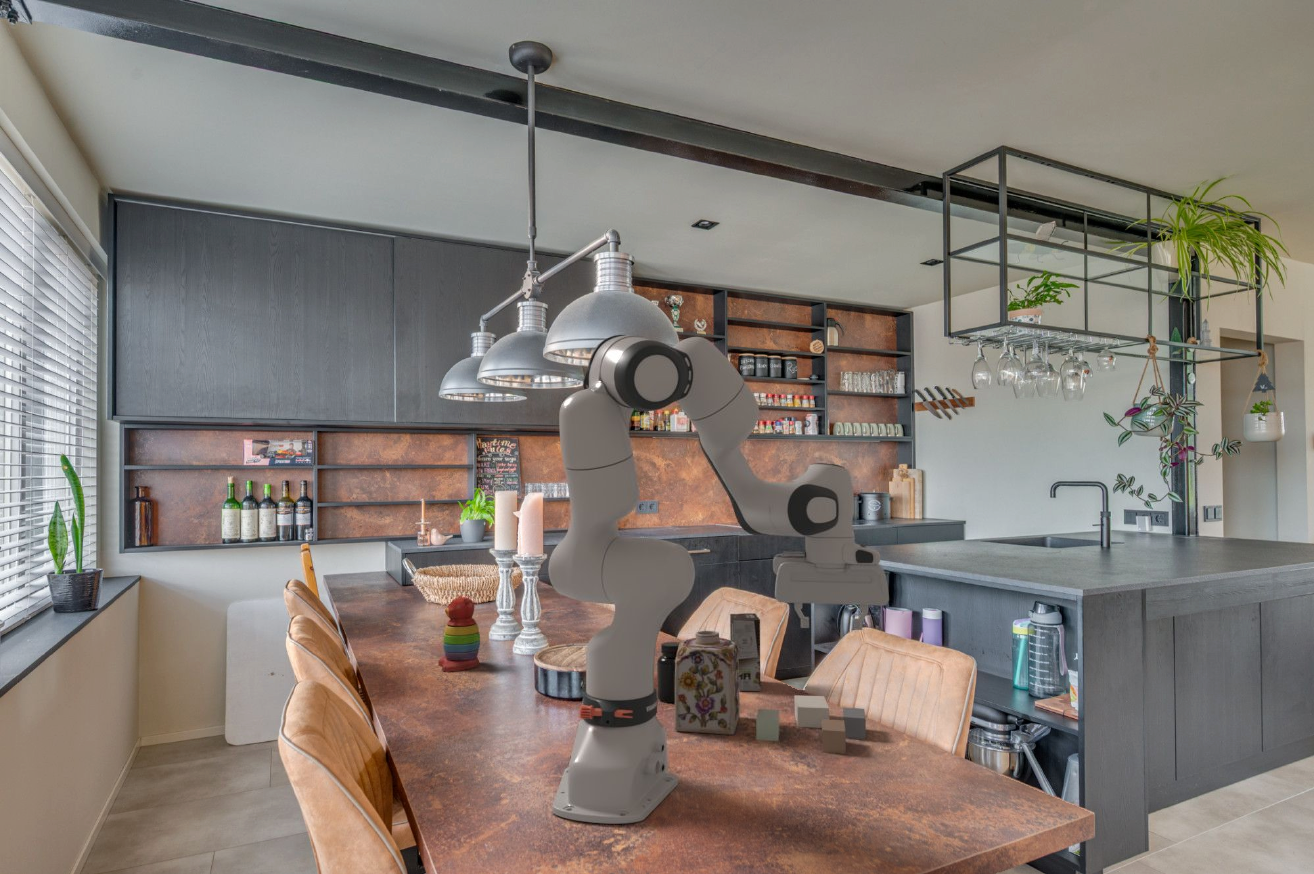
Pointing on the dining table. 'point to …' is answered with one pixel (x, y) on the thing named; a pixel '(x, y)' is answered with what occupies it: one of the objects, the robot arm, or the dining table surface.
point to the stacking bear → (460, 637)
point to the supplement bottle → (667, 672)
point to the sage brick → (767, 725)
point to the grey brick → (854, 723)
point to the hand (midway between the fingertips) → (831, 628)
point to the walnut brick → (833, 736)
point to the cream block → (811, 711)
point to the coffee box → (747, 649)
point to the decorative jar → (707, 685)
